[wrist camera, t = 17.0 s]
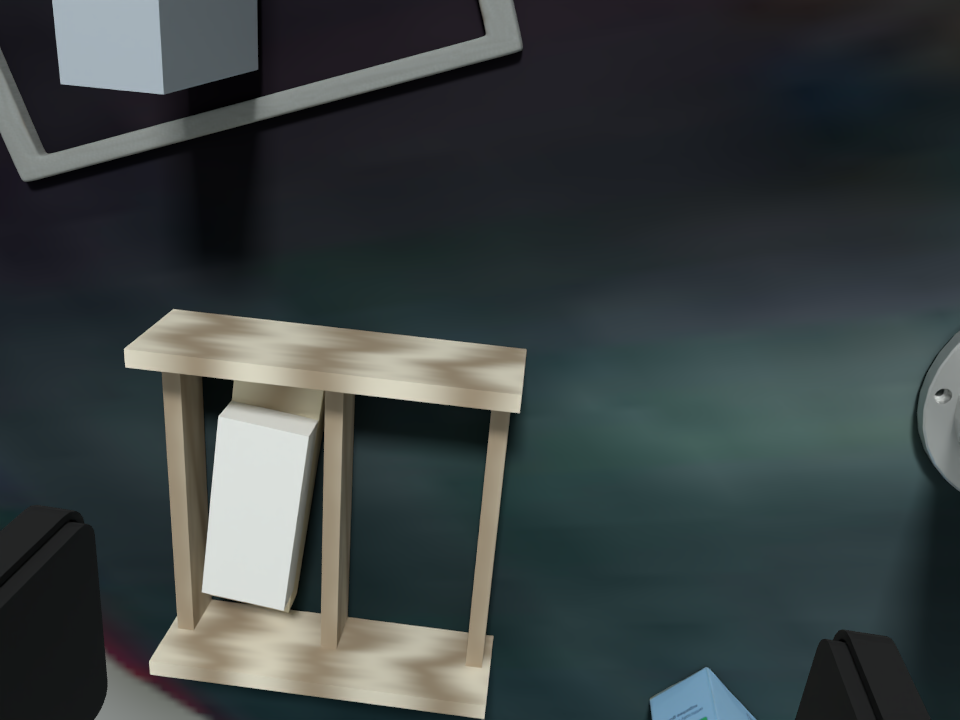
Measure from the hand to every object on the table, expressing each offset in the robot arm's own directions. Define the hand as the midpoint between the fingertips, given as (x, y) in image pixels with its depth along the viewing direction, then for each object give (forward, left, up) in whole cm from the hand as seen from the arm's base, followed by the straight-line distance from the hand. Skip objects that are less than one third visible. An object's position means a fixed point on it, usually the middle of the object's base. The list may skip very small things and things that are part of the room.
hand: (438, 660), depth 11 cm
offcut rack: (+9, +21, -36) cm, 43 cm away
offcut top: (+13, +21, -34) cm, 42 cm away
